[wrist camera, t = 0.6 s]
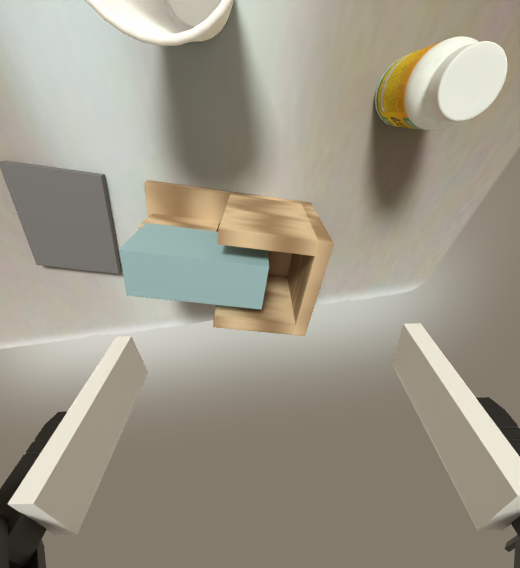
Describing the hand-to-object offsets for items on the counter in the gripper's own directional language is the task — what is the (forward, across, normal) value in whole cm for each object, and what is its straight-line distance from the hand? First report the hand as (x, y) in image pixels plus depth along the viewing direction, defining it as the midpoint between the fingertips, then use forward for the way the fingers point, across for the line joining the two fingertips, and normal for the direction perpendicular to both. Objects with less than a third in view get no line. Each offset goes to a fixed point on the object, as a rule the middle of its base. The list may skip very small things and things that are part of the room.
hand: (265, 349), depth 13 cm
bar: (+16, -6, -2) cm, 17 cm away
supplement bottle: (+21, +13, +11) cm, 27 cm away
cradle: (+21, -4, -2) cm, 21 cm away
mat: (+20, -23, +1) cm, 31 cm away
